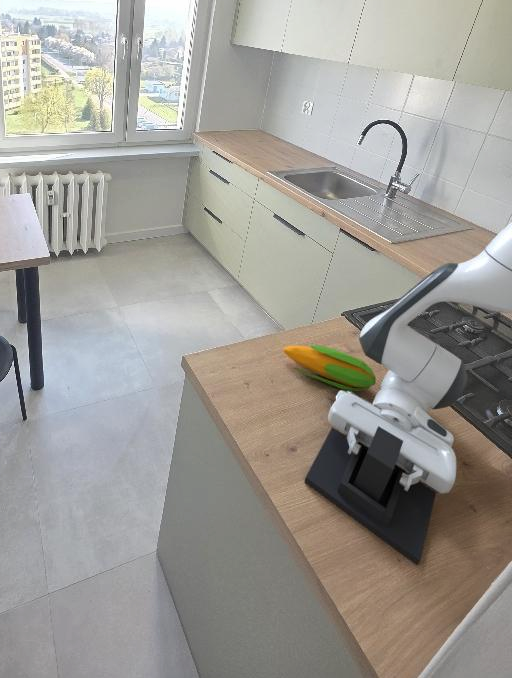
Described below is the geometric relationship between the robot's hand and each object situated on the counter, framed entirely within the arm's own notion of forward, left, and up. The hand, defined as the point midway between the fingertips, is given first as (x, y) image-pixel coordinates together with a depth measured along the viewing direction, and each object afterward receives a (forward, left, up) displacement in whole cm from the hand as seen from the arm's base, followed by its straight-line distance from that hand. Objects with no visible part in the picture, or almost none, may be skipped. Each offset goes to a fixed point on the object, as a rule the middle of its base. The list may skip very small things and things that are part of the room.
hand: (377, 469), depth 72 cm
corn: (+20, -17, -7) cm, 27 cm away
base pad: (0, -1, -7) cm, 7 cm away
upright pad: (0, -1, -5) cm, 5 cm away
